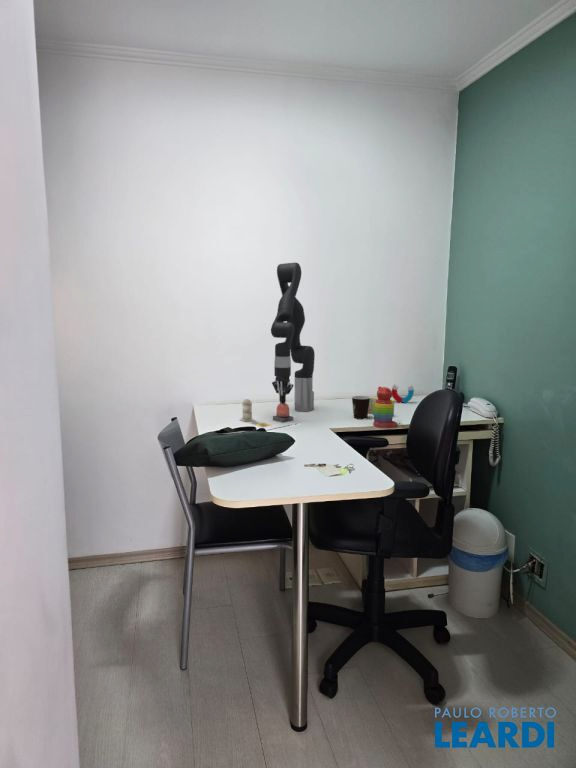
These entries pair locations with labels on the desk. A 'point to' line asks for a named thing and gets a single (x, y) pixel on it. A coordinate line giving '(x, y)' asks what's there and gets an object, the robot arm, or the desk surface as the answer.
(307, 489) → the desk surface
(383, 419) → the stacking bear
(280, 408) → the dome
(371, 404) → the candy box
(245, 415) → the pawn
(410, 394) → the magnet
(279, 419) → the game board
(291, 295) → the robot arm
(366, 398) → the coffee mug
